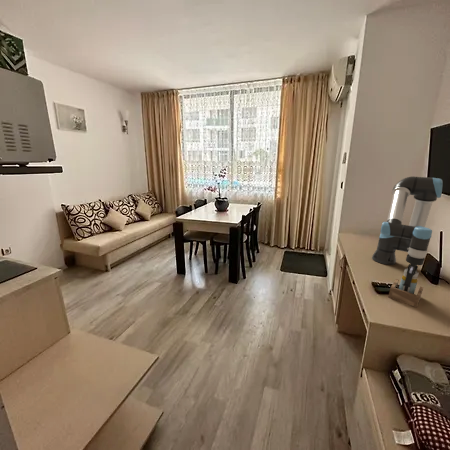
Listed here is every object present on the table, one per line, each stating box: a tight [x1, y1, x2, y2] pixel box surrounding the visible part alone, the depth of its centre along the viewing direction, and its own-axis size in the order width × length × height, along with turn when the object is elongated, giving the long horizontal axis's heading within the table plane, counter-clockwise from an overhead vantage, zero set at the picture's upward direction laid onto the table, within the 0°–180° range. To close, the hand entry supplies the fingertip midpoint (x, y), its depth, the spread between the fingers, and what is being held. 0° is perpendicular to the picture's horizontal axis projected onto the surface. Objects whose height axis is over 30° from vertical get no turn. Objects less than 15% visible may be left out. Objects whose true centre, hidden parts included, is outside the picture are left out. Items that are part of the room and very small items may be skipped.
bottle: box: [398, 268, 419, 294], centre depth 135 cm, size 7×7×15 cm
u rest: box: [388, 278, 424, 308], centre depth 135 cm, size 14×13×6 cm
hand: (405, 293), depth 136 cm, fingers closed on bottle, 7 cm apart
